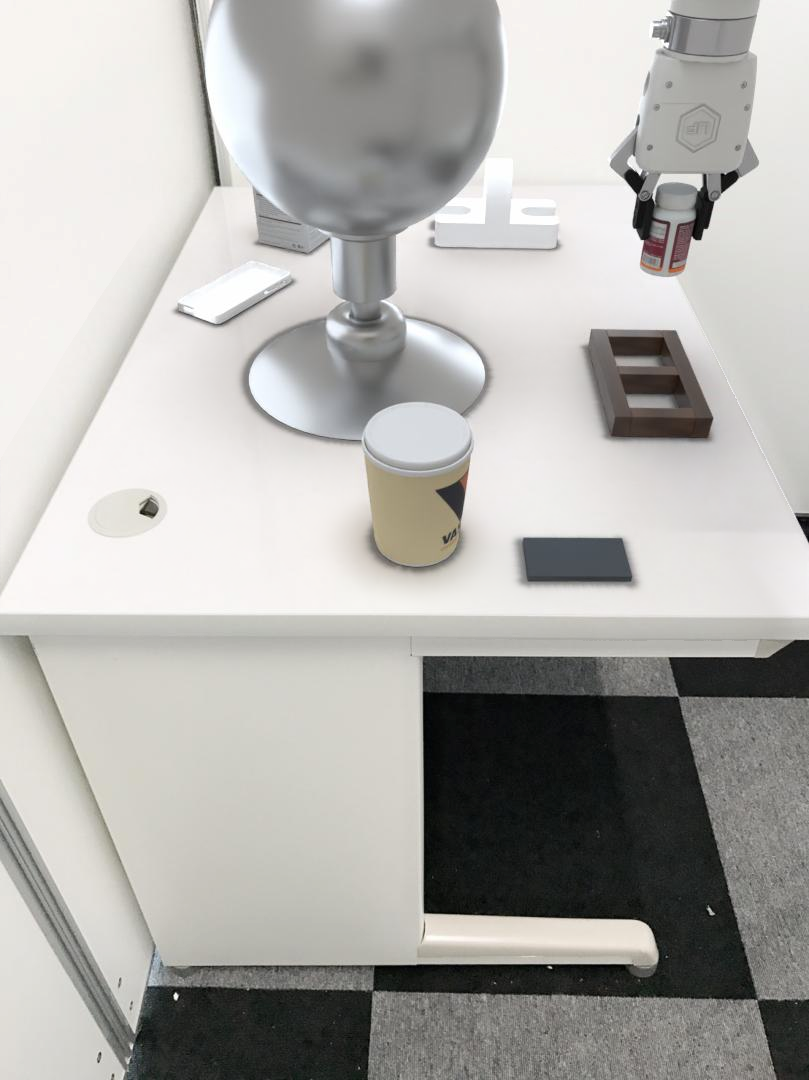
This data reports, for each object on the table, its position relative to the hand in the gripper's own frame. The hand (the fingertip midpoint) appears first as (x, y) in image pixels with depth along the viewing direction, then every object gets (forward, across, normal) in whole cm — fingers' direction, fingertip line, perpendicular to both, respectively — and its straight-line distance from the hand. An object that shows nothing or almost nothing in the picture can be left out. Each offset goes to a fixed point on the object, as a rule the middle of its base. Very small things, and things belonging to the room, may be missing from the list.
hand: (668, 233), depth 88 cm
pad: (+17, -11, -32) cm, 38 cm away
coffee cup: (+17, -26, -29) cm, 43 cm away
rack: (+17, 0, -3) cm, 17 cm away
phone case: (+16, -51, +18) cm, 56 cm away
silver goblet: (+16, -32, 0) cm, 36 cm away
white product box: (+16, -44, +38) cm, 60 cm away
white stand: (+16, -15, +39) cm, 45 cm away
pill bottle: (+4, 0, 0) cm, 4 cm away
